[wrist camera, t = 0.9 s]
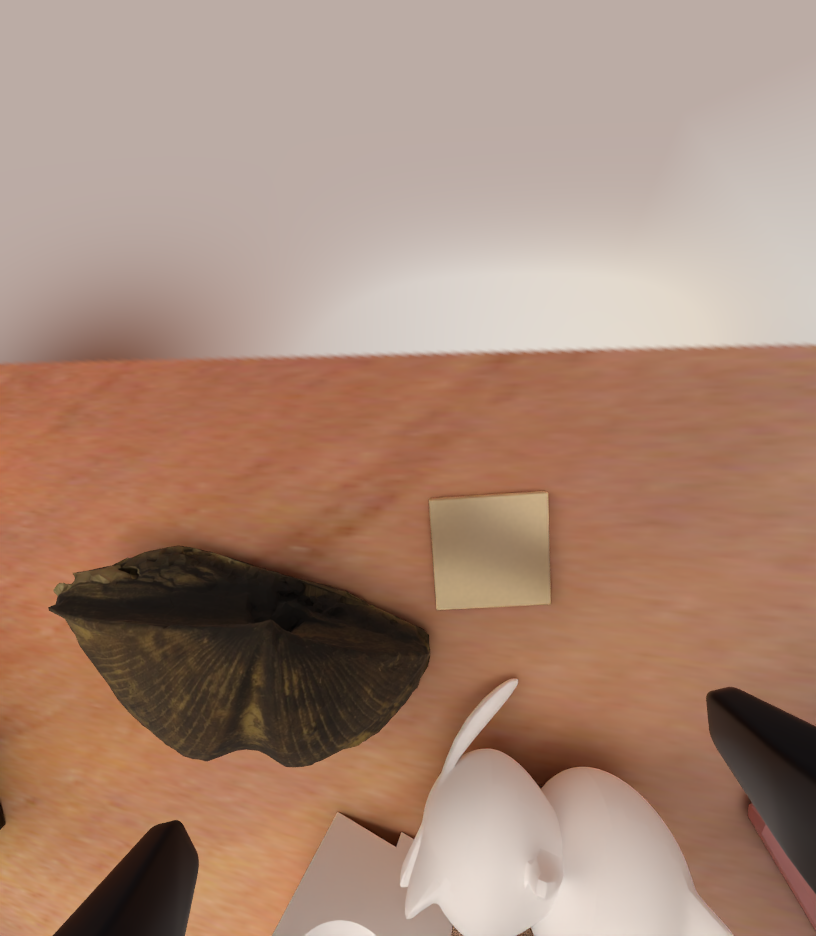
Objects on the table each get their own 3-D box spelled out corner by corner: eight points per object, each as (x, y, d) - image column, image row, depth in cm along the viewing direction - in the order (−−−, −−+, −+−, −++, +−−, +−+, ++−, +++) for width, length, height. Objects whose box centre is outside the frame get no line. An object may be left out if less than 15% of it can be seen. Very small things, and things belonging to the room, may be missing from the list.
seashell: (453, 590, 21) (455, 722, 15) (404, 714, 25) (388, 865, 18) (119, 496, 21) (-28, 591, 14) (117, 636, 24) (-2, 763, 18)
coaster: (548, 599, 22) (551, 604, 21) (436, 605, 22) (436, 610, 22) (545, 490, 21) (548, 492, 20) (428, 497, 21) (428, 500, 21)
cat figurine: (403, 1009, 14) (767, 1132, 14) (477, 660, 18) (759, 751, 18) (387, 878, 22) (618, 956, 22) (441, 657, 26) (636, 720, 26)
